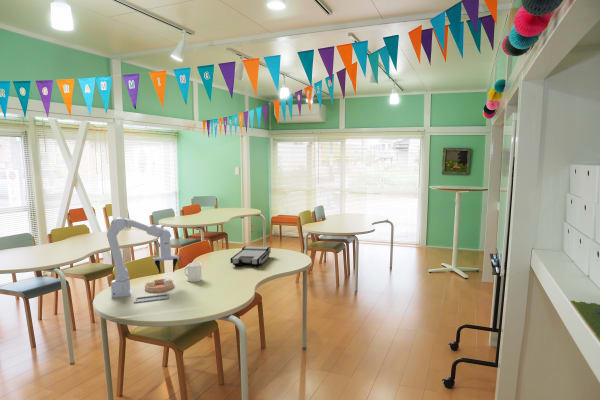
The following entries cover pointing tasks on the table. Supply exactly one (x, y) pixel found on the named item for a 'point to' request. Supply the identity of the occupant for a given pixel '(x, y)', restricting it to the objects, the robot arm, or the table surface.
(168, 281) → the pale grey cylinder
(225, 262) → the table surface
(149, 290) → the bowl
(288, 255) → the table surface
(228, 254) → the table surface
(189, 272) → the mug
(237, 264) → the game console
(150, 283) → the cream marshmallow
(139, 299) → the parts tray
